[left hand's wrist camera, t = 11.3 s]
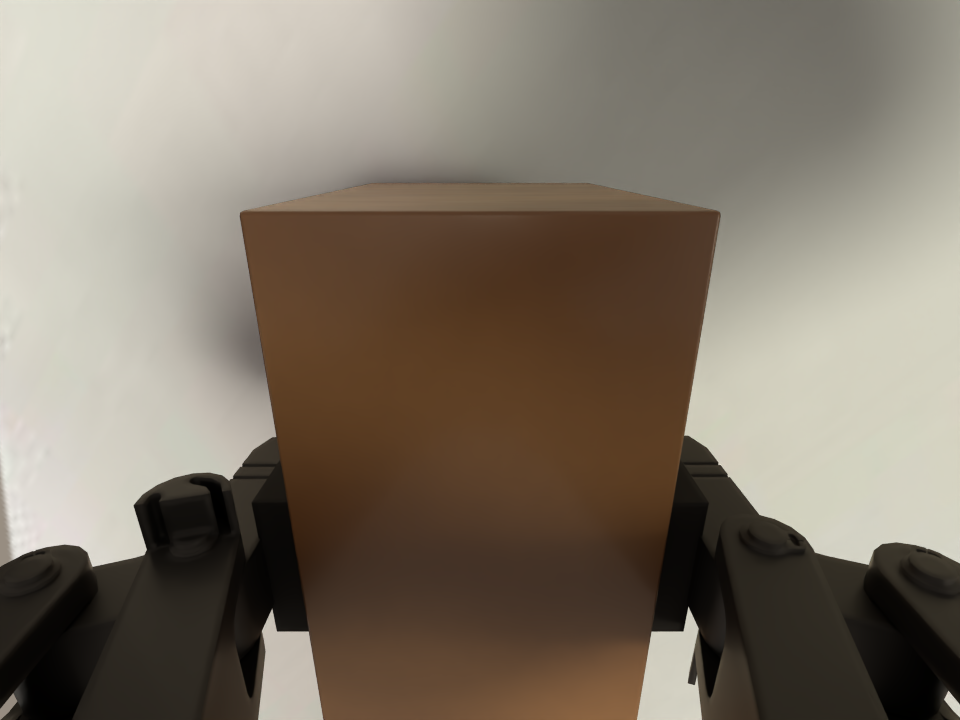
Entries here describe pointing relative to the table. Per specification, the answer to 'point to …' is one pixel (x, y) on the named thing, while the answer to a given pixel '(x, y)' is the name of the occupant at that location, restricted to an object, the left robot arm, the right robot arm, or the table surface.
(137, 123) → the table surface
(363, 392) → the bar
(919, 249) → the table surface
